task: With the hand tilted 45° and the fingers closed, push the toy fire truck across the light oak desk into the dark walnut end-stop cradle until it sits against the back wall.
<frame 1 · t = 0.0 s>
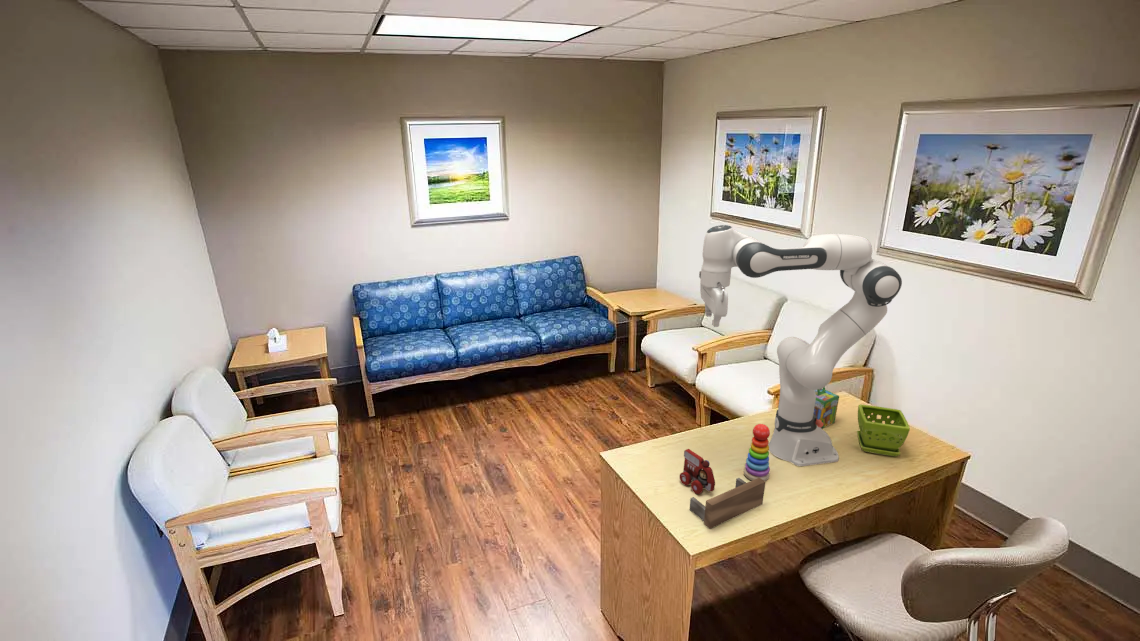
hand: (711, 320, 174), 48 cm above the table, tool pointing down, fingers open, 8 cm apart
toy fire truck: (697, 486, 173), on the table
end-stop cradle: (703, 490, 170), on the table
flower pot: (876, 447, 192), on the table
stacking toy: (756, 476, 177), on the table
chalk box: (817, 421, 209), on the table
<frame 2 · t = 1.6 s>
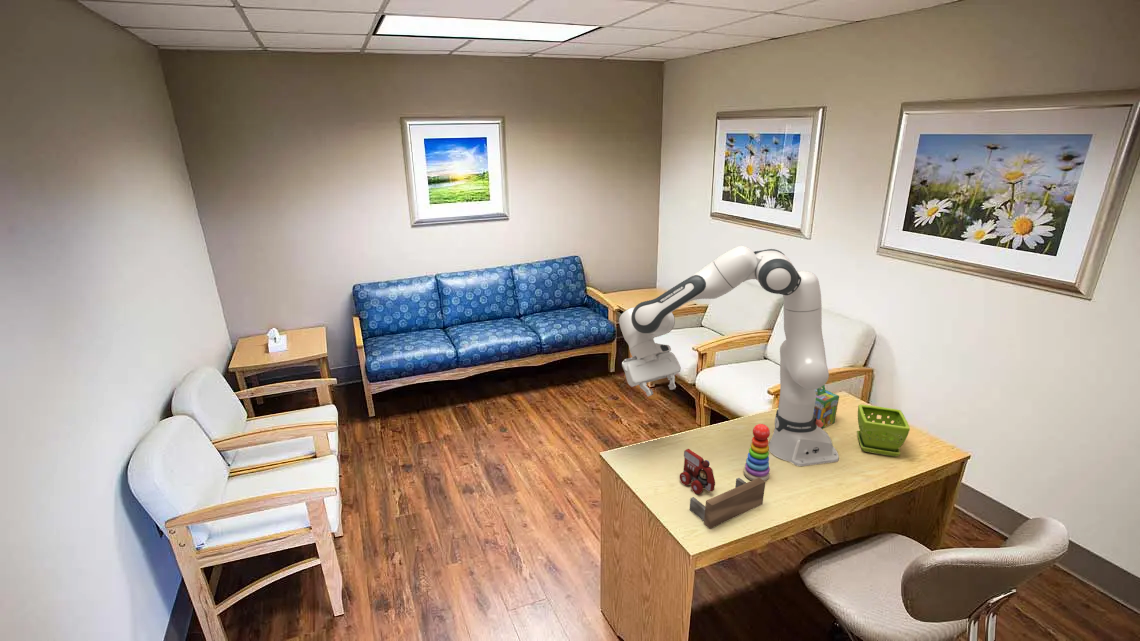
hand: (662, 392, 180), 24 cm above the table, tool tilted 45°, fingers open, 8 cm apart
nothing on the table moved.
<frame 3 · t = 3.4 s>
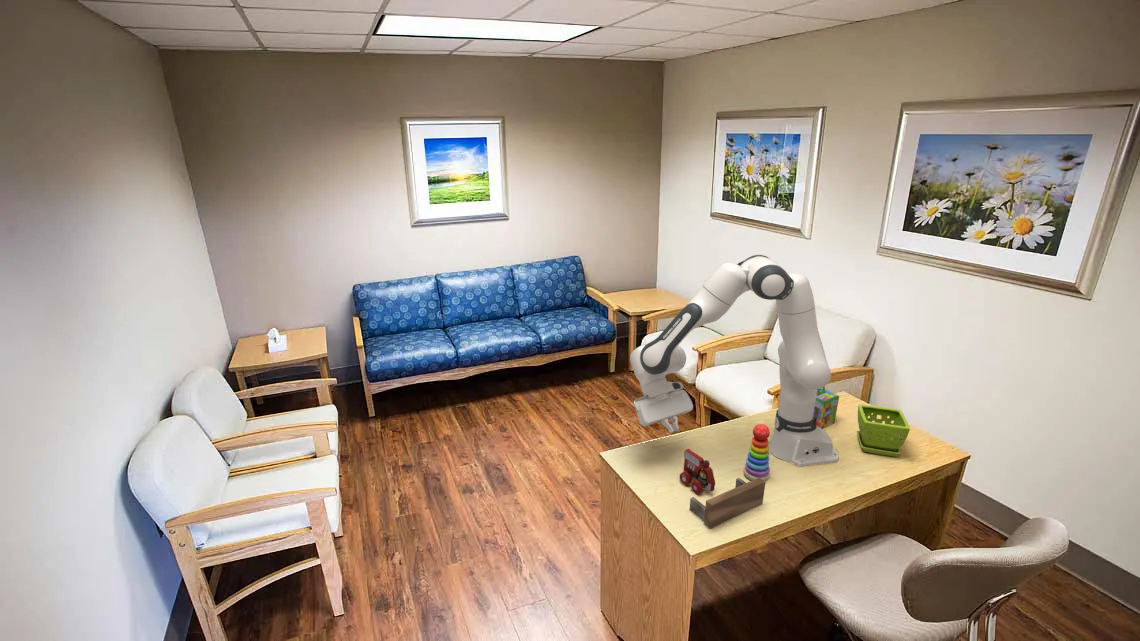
hand: (674, 431, 178), 13 cm above the table, tool tilted 45°, fingers closed
nothing on the table moved.
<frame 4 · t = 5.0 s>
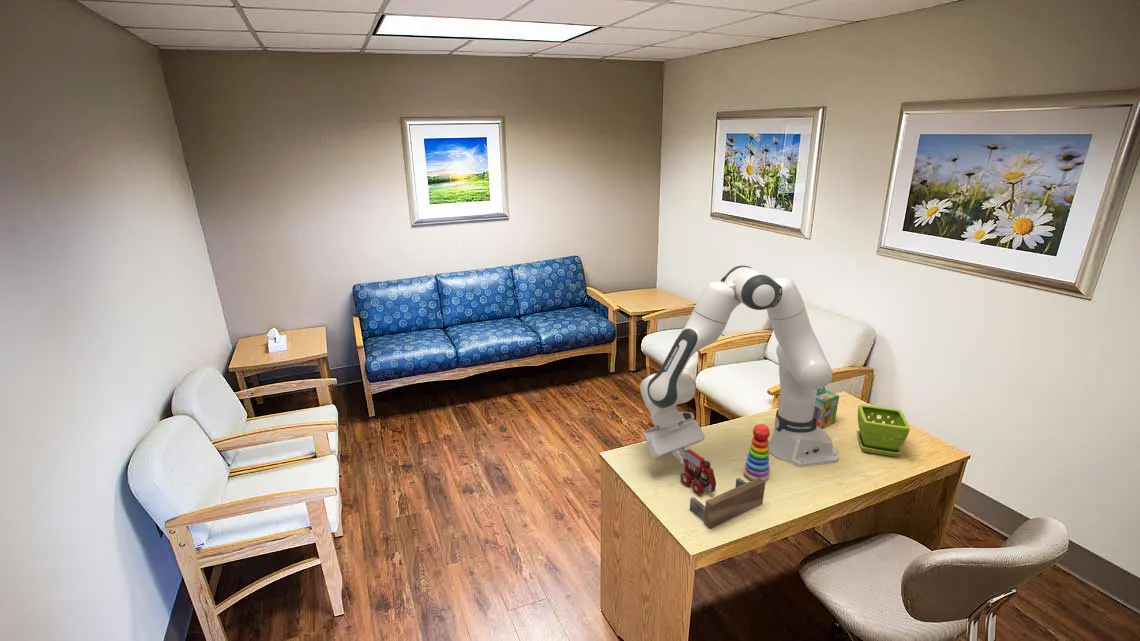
hand: (685, 462, 176), 5 cm above the table, tool tilted 45°, fingers closed
toy fire truck: (698, 486, 172), on the table, touching gripper
everything else where it was.
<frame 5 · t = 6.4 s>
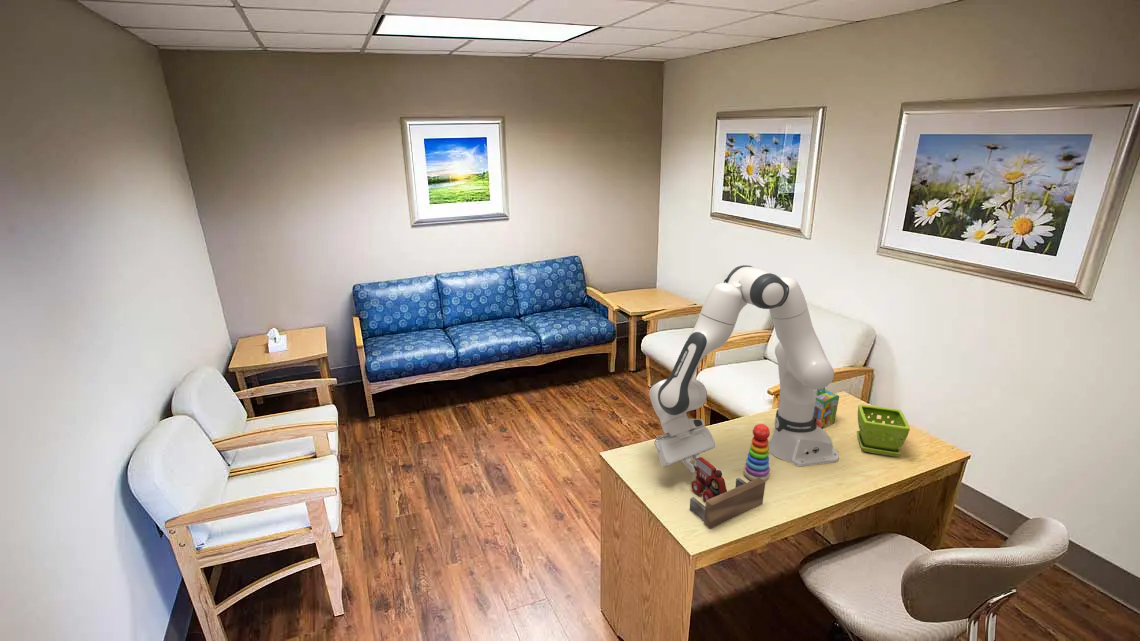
hand: (696, 471, 172), 5 cm above the table, tool tilted 45°, fingers closed
toy fire truck: (709, 495, 168), on the table, touching gripper
everything else where it was.
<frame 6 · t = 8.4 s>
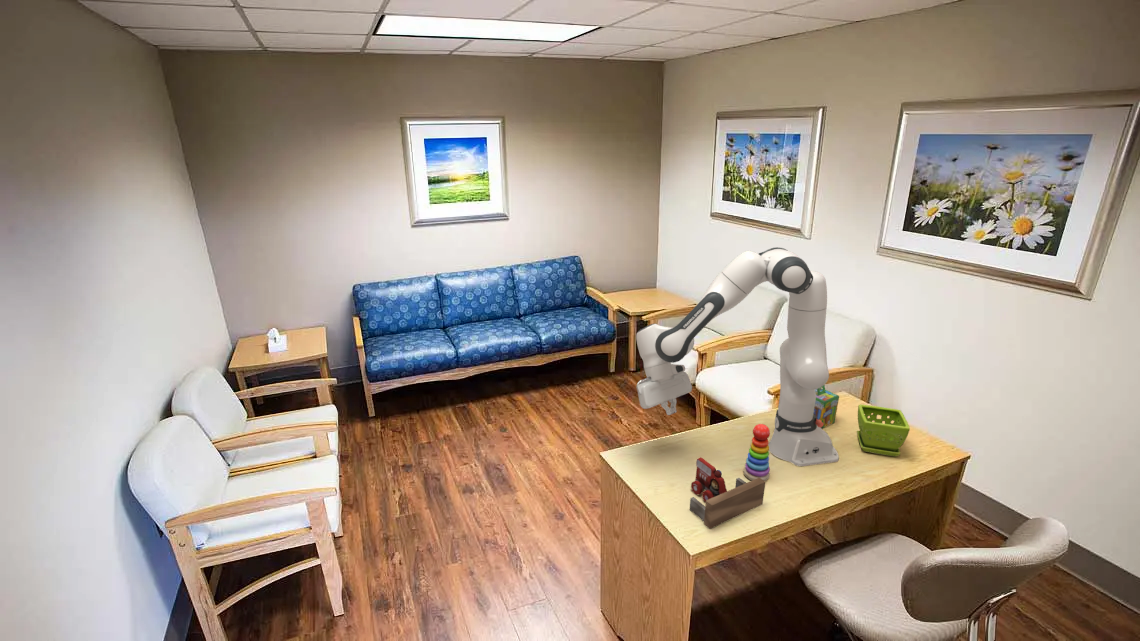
hand: (672, 413, 181), 17 cm above the table, tool tilted 30°, fingers closed
toy fire truck: (709, 496, 168), on the table
everything else where it was.
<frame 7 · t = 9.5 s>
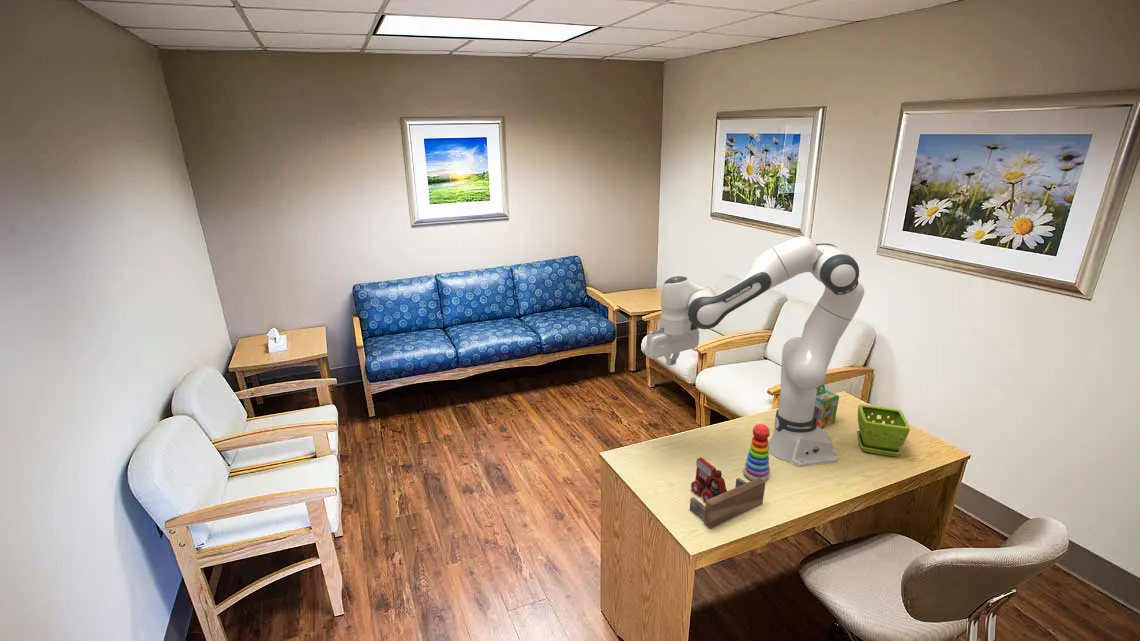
hand: (671, 364, 184), 31 cm above the table, tool pointing down, fingers closed
nothing on the table moved.
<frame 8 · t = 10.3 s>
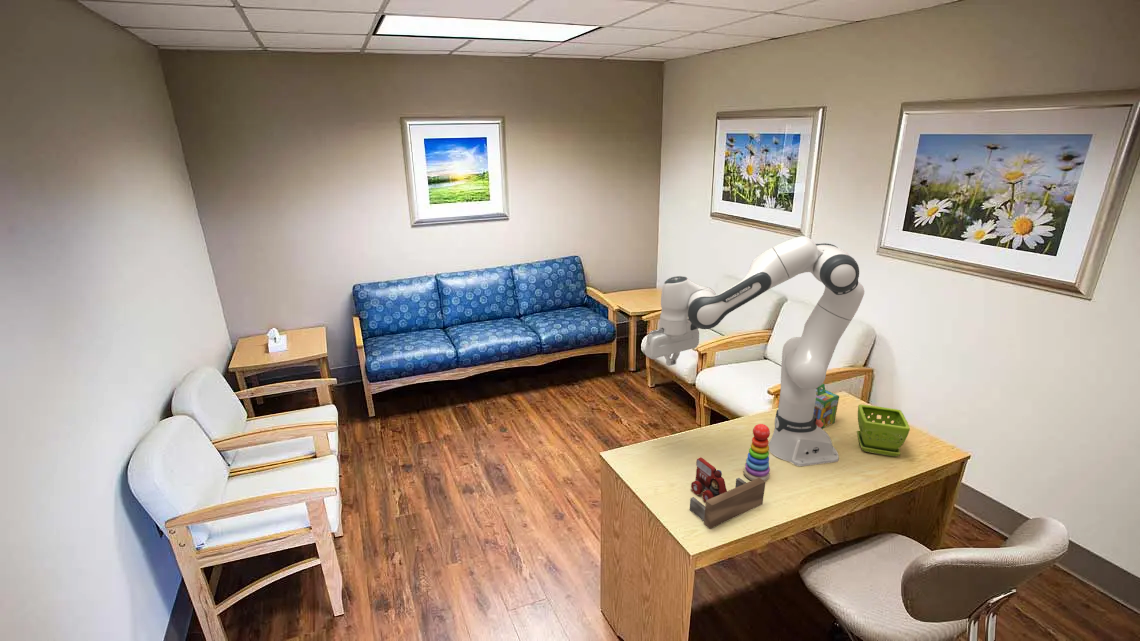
hand: (671, 364, 184), 31 cm above the table, tool pointing down, fingers closed
nothing on the table moved.
at the end: toy fire truck inside the target area (2.5 cm from its centre), on the table; toy fire truck moved 5.6 cm from its start; toy fire truck tilted 0° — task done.
